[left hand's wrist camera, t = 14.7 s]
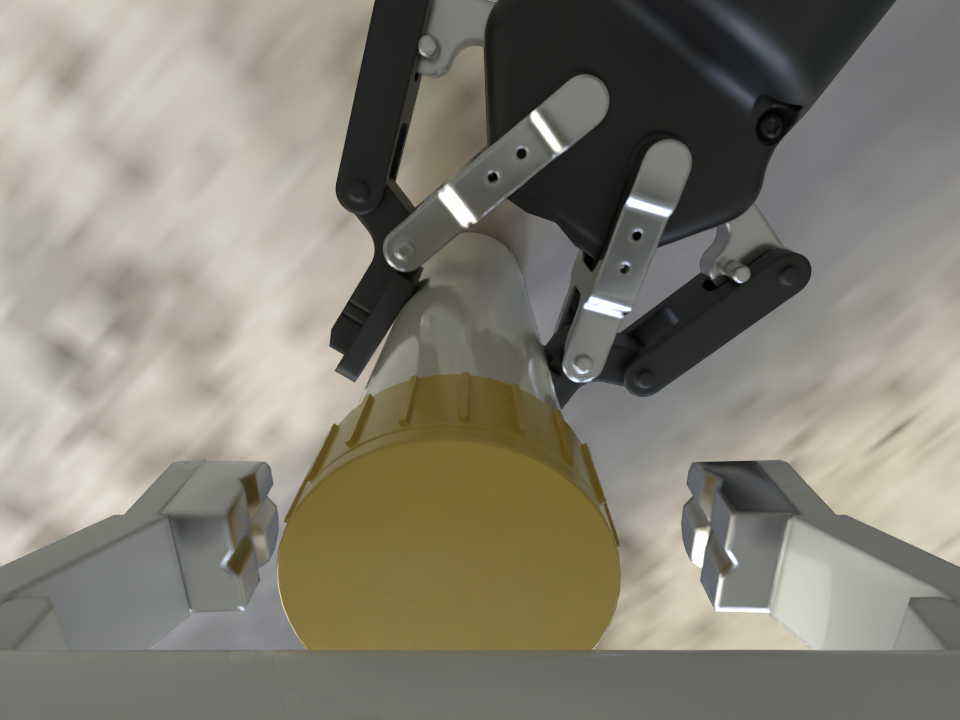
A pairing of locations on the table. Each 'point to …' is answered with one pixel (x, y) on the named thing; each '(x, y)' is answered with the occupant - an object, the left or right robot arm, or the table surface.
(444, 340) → the jar
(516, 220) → the table surface
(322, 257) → the table surface
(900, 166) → the table surface
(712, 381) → the table surface
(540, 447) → the lid
